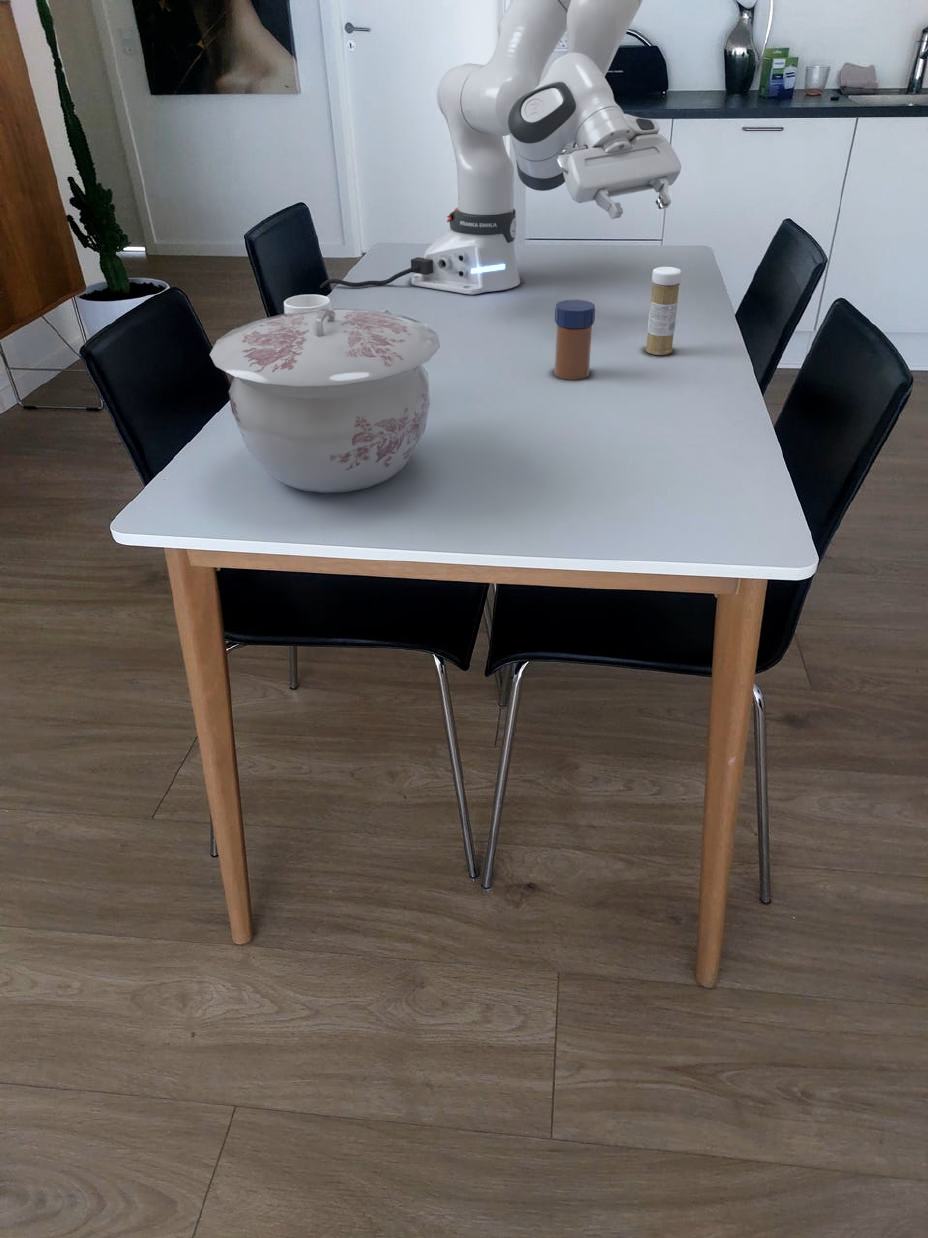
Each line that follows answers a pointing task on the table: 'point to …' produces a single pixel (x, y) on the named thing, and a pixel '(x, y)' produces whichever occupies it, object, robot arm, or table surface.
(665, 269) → the sprinkles bottle
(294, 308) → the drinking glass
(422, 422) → the chamber pot
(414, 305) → the table surface
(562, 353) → the brown cylinder
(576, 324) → the lid
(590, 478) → the table surface
